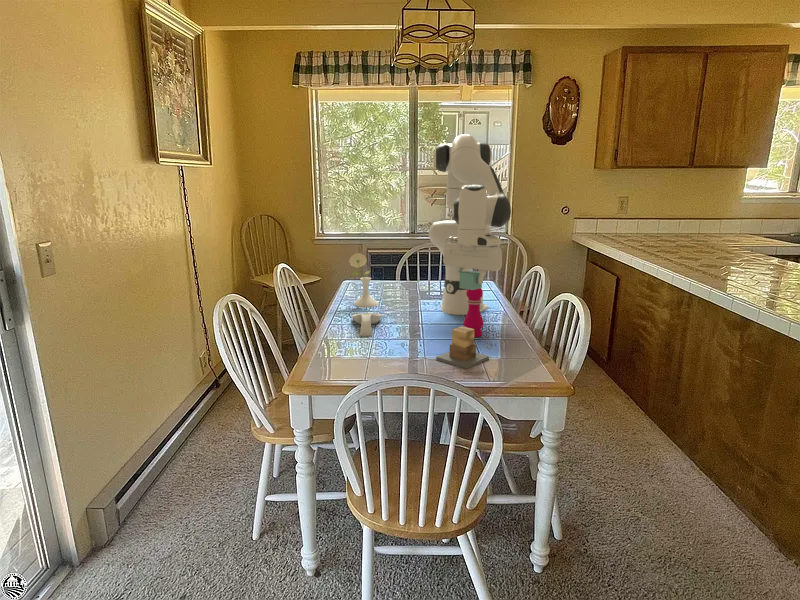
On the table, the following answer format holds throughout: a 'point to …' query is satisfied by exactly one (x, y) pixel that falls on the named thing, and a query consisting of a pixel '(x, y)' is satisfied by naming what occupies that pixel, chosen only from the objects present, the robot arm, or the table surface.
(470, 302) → the pepper mill
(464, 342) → the block
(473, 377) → the table surface
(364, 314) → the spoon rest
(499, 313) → the table surface
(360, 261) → the flower in vase
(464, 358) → the base block
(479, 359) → the build board
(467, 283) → the block
